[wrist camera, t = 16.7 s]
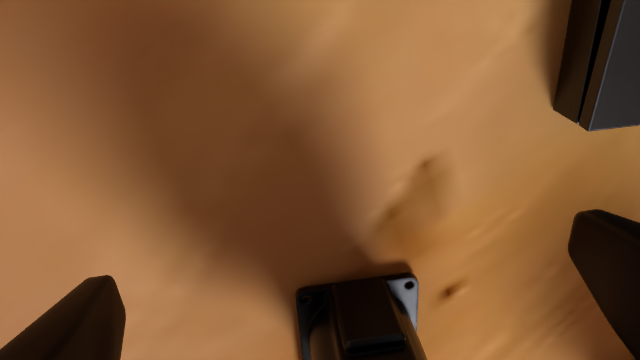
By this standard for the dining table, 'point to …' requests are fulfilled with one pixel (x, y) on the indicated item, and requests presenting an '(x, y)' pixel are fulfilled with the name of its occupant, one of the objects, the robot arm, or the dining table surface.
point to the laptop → (579, 55)
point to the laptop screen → (615, 71)
